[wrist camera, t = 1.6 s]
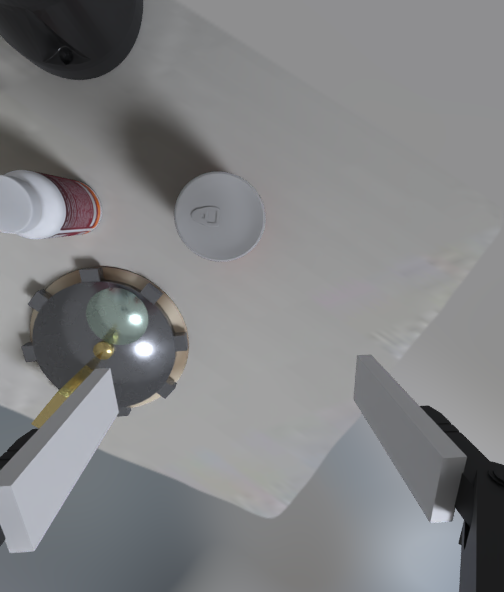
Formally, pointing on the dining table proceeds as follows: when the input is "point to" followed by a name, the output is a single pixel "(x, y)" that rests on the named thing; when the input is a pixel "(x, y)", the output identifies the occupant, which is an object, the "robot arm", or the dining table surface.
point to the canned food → (219, 216)
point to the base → (140, 284)
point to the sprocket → (104, 340)
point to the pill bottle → (46, 205)
